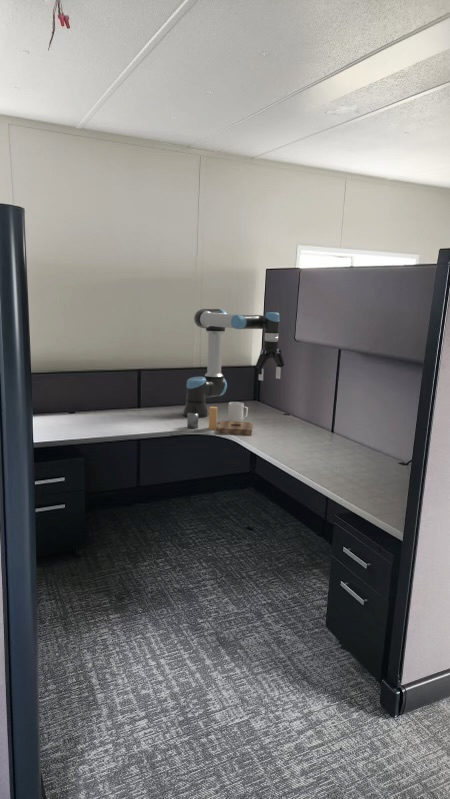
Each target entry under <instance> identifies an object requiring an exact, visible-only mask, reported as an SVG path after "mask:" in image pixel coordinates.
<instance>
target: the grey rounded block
mask: <svg viewBox="0 0 450 799" xmlns="http://www.w3.org/2000/svg"><path fill="white" fill-rule="evenodd" d="M186 418H187V420H186V422H187V423H186V429H189V430H196V429H198V428H199V418H198V413H187V417H186Z"/></svg>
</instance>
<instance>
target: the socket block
mask: <svg viewBox="0 0 450 799" xmlns="http://www.w3.org/2000/svg"><path fill="white" fill-rule="evenodd" d="M253 424H254V422H251V421H249V422H248V421H242V422H234V421H229V420H220V422H219V425H218V426H217V434H219V435H220V434H221V435H235V436H236V435H238V436H239V435H242V436H252V435H253Z"/></svg>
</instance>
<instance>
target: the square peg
mask: <svg viewBox="0 0 450 799" xmlns="http://www.w3.org/2000/svg"><path fill="white" fill-rule="evenodd" d="M208 430H210V431H211V430H214V431H217V430H218V406H209V412H208Z"/></svg>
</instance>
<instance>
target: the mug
mask: <svg viewBox="0 0 450 799" xmlns="http://www.w3.org/2000/svg"><path fill="white" fill-rule="evenodd" d="M244 408H245V416H244ZM227 410H228V411H227V414H228V416H227V421H234V422H244V419H246V418H247V417H248V412H249V407H247V406H245V404H244V402H241V401H240V402H239V401H230V402H228V408H227Z"/></svg>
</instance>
